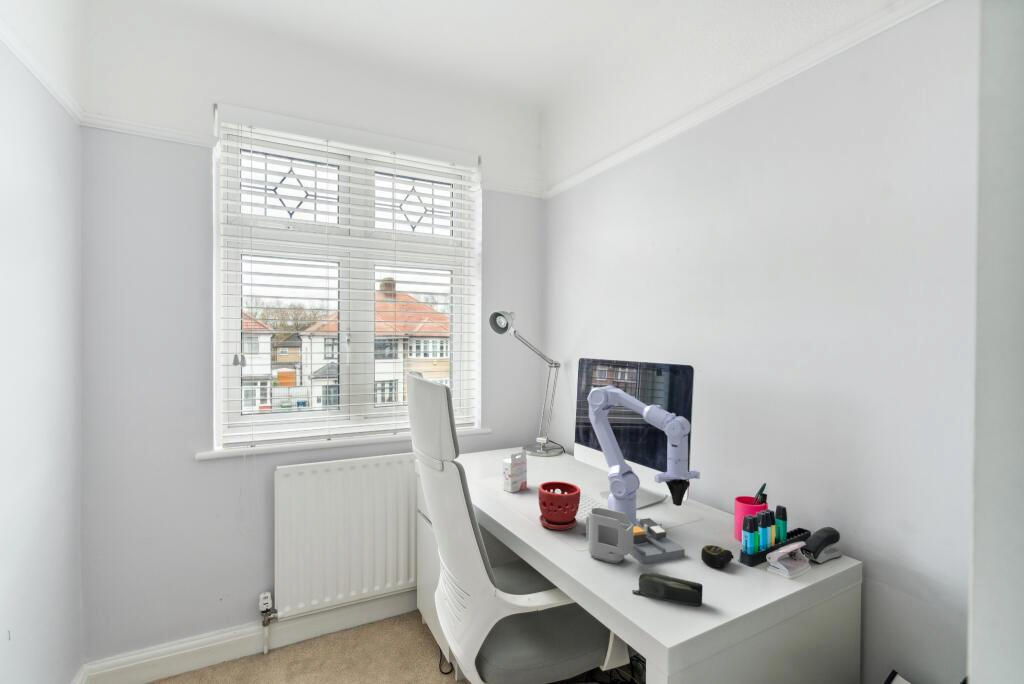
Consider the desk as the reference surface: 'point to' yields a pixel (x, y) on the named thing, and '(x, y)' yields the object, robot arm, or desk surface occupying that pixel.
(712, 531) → the desk surface
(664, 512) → the desk surface
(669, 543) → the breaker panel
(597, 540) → the grey piece
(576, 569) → the desk surface
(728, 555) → the tape measure
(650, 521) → the on rocker
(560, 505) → the plant pot
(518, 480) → the ink cartridge box
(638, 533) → the block
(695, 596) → the dark elongated piece
